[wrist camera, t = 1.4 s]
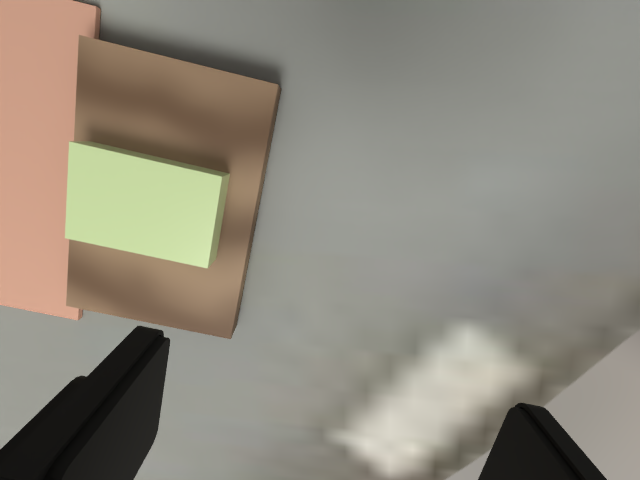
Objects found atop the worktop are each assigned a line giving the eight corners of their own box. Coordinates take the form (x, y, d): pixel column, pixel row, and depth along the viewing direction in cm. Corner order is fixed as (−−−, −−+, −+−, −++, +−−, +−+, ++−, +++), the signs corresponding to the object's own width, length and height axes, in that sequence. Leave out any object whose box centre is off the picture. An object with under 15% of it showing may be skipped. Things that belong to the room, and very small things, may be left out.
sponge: (90, 141, 23) (69, 141, 21) (230, 173, 23) (222, 176, 22) (84, 230, 24) (64, 238, 23) (216, 258, 25) (207, 268, 23)
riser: (98, 43, 23) (79, 34, 21) (281, 88, 24) (278, 84, 22) (83, 294, 28) (65, 305, 26) (236, 325, 29) (230, 339, 27)
